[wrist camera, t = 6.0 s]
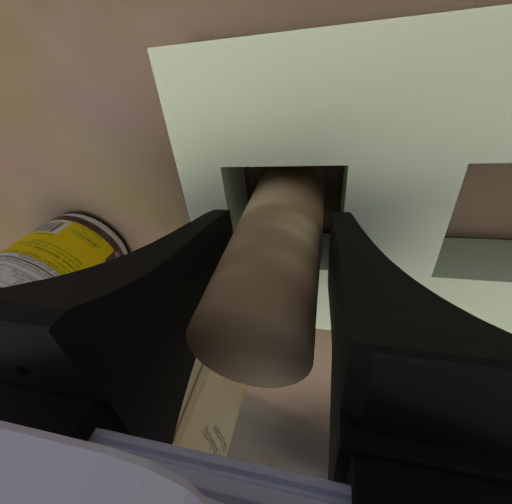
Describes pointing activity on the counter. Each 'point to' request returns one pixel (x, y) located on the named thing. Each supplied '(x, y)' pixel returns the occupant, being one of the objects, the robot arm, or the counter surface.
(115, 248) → the supplement bottle
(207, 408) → the skincare box
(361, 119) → the board
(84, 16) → the counter surface
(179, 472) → the robot arm
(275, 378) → the dowel
